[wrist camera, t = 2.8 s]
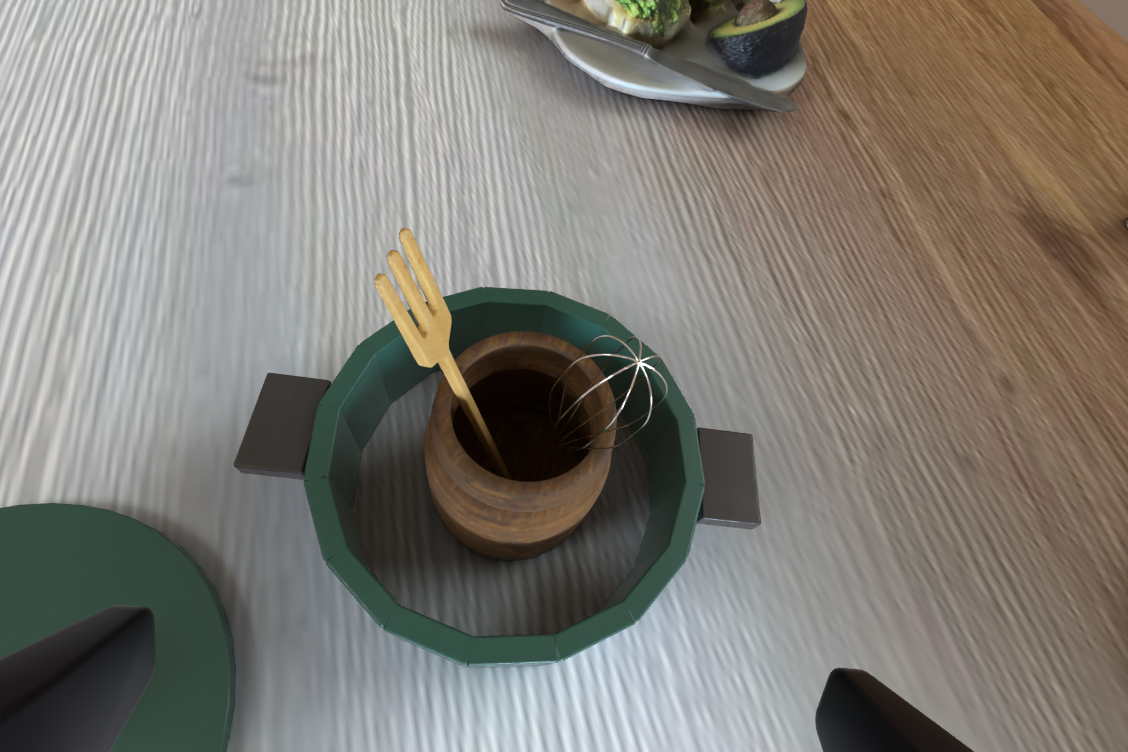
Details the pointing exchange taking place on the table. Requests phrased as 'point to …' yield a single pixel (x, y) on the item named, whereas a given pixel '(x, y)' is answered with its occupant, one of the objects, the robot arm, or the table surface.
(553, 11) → the salad plate
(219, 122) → the table surface
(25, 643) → the pot lid
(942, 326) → the table surface
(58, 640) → the robot arm
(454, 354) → the pot
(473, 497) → the utensil holder
